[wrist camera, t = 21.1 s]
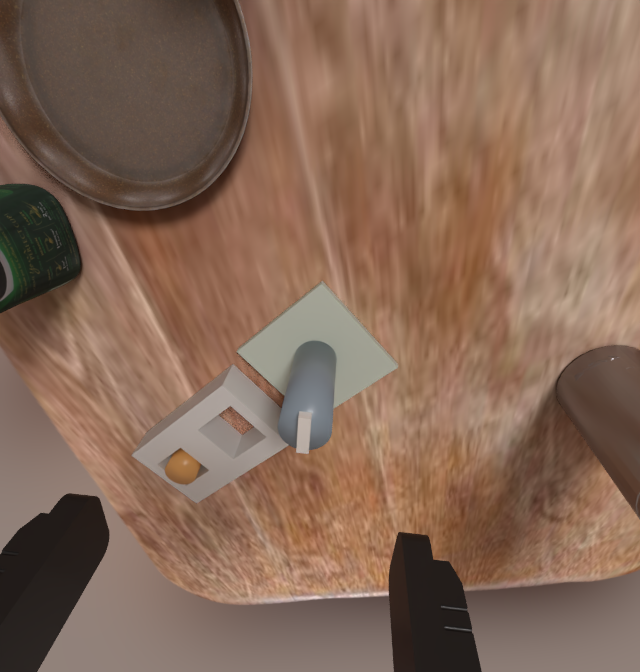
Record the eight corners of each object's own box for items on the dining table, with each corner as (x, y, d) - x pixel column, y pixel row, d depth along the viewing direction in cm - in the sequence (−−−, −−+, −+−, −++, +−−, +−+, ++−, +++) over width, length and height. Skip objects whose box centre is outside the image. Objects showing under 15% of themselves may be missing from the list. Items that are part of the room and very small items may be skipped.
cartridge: (338, 342, 42) (333, 417, 31) (334, 378, 44) (328, 459, 33) (295, 338, 42) (276, 411, 31) (293, 374, 44) (275, 453, 33)
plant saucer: (73, -209, 26) (37, -251, 23) (315, 60, 31) (310, 55, 28) (-37, 77, 34) (-74, 73, 31) (170, 249, 39) (155, 259, 37)
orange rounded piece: (187, 438, 48) (177, 457, 46) (210, 456, 49) (202, 475, 47) (169, 452, 49) (158, 470, 47) (191, 469, 51) (182, 488, 48)
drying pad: (397, 363, 43) (397, 367, 42) (313, 417, 47) (312, 422, 47) (322, 280, 39) (321, 283, 39) (238, 348, 44) (236, 351, 43)
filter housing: (232, 364, 45) (222, 385, 41) (294, 420, 48) (289, 444, 44) (147, 431, 51) (131, 455, 47) (206, 478, 54) (196, 503, 50)
